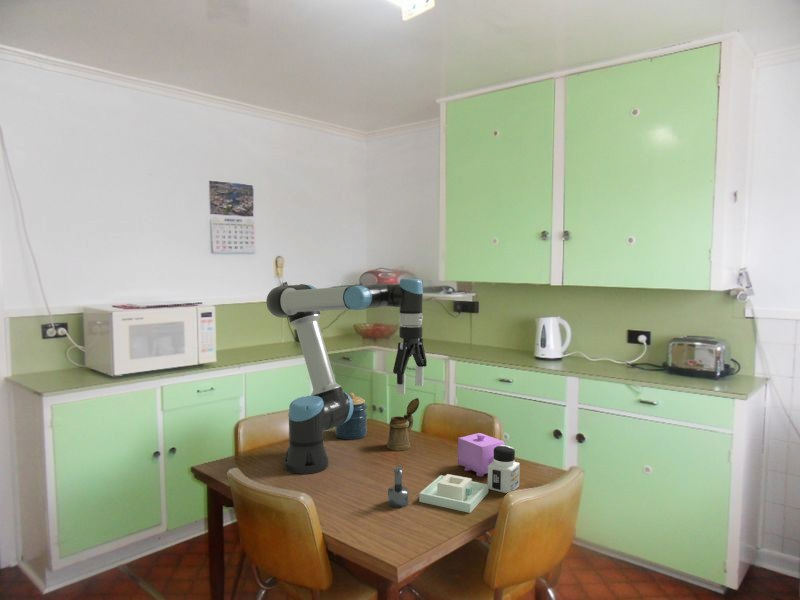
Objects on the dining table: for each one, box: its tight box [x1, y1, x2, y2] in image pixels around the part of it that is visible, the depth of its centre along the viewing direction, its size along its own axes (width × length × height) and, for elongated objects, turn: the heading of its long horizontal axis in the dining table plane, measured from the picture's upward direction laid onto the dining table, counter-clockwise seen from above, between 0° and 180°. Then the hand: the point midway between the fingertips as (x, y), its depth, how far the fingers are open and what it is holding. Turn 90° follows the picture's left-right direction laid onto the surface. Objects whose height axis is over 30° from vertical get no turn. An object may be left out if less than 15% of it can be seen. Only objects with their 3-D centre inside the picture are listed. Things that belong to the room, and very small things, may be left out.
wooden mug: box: [386, 397, 420, 452], centre depth 221 cm, size 9×14×18 cm, turn 122°
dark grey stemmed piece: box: [387, 465, 409, 509], centre depth 169 cm, size 6×6×11 cm
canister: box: [334, 392, 368, 440], centre depth 234 cm, size 13×13×18 cm
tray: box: [418, 474, 489, 514], centre depth 174 cm, size 16×16×3 cm
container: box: [487, 444, 521, 494], centre depth 181 cm, size 8×8×13 cm
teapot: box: [457, 432, 505, 478], centre depth 195 cm, size 20×10×12 cm, turn 35°
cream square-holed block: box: [437, 473, 473, 501], centre depth 174 cm, size 9×8×4 cm
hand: (410, 389), depth 190 cm, fingers open, 13 cm apart
